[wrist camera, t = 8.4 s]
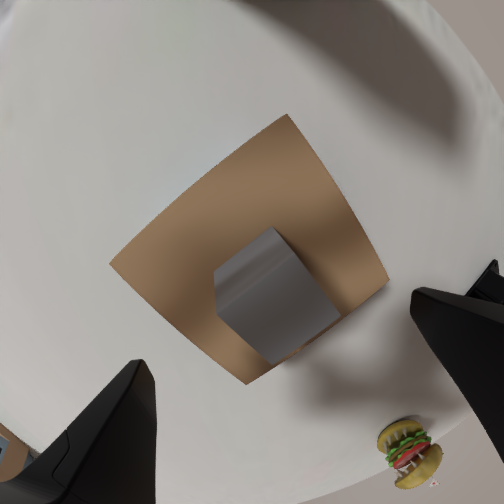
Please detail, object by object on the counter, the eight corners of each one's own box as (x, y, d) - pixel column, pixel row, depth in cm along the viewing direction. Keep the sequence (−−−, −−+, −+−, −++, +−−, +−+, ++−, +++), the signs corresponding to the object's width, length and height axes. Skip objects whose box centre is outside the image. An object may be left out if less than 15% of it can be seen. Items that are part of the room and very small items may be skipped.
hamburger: (396, 411, 27) (438, 478, 16) (425, 408, 29) (465, 464, 18) (361, 446, 29) (393, 509, 18) (393, 441, 31) (424, 495, 20)
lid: (382, 273, 15) (428, 311, 11) (244, 375, 16) (255, 432, 12) (282, 116, 11) (318, 98, 7) (114, 257, 12) (79, 301, 8)
